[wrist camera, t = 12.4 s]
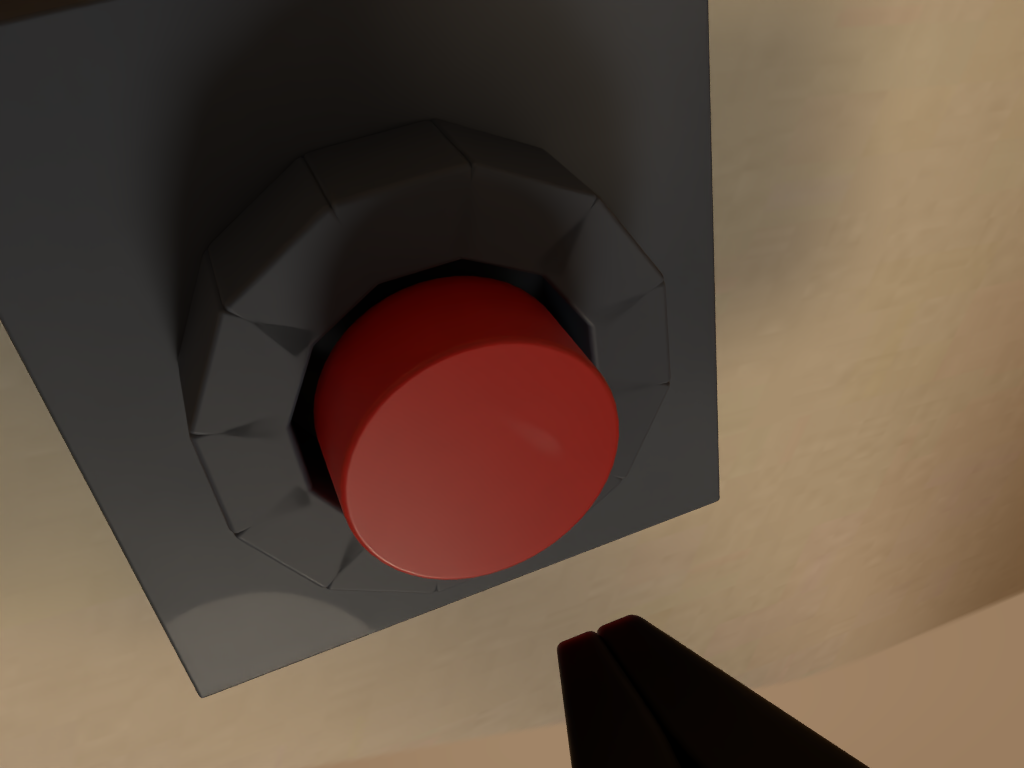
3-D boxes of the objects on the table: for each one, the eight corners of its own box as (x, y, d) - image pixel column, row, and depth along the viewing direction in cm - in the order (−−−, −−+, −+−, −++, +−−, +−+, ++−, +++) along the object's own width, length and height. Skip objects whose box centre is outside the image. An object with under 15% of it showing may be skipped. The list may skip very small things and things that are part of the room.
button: (579, 451, 15) (631, 524, 13) (348, 534, 14) (378, 620, 13) (551, 239, 13) (609, 298, 11) (278, 323, 12) (304, 397, 11)
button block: (677, 451, 20) (773, 563, 17) (191, 630, 18) (212, 789, 15) (645, -152, 14) (788, -127, 11) (-118, 18, 12) (-178, 102, 9)
